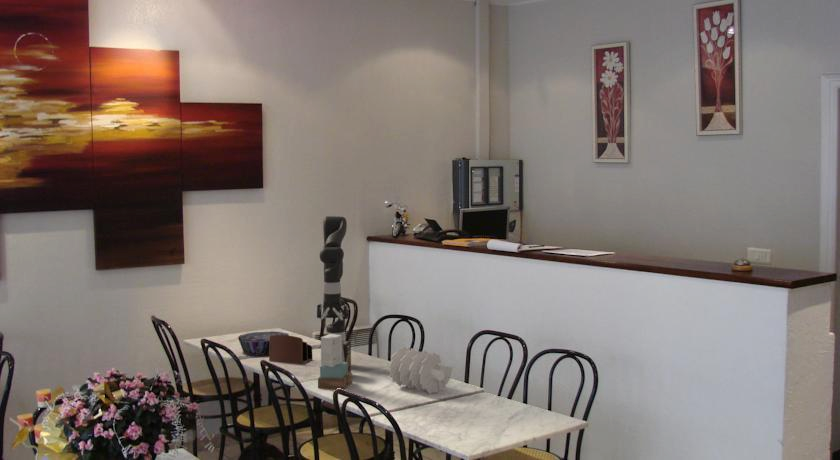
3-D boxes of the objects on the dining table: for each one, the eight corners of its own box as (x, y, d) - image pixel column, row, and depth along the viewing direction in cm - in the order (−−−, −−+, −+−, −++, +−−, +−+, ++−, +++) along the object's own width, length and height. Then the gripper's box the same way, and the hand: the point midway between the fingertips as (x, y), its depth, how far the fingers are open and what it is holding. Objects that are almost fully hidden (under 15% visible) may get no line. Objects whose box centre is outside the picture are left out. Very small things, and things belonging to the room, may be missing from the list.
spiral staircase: (433, 405, 365) (391, 392, 382) (458, 380, 376) (415, 368, 393) (422, 371, 358) (379, 359, 374) (447, 347, 369) (405, 336, 385)
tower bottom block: (327, 382, 391) (326, 371, 391) (352, 383, 388) (351, 372, 388) (318, 389, 380) (317, 378, 379) (343, 390, 377) (343, 379, 376)
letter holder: (302, 364, 424) (301, 337, 423) (268, 361, 432) (268, 333, 431) (312, 360, 433) (312, 333, 432) (279, 357, 441) (279, 330, 440)
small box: (330, 361, 388) (330, 333, 387) (342, 363, 385) (342, 335, 384) (320, 365, 381) (320, 337, 380) (332, 367, 378) (332, 338, 377)
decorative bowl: (234, 351, 463) (232, 333, 462) (284, 343, 473) (282, 325, 472) (244, 361, 439) (242, 342, 438) (296, 352, 450) (294, 334, 449)
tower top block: (326, 372, 389) (326, 361, 389) (347, 373, 388) (347, 362, 387) (320, 377, 380) (320, 366, 379) (341, 378, 378) (341, 367, 377)
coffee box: (346, 379, 395) (345, 344, 393) (333, 378, 396) (332, 344, 395) (351, 374, 404) (351, 340, 402) (338, 373, 405) (338, 340, 404)
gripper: (350, 291, 381) (350, 326, 383) (320, 290, 385) (321, 325, 386) (344, 293, 374) (345, 330, 375) (314, 292, 378) (314, 328, 379)
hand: (332, 327), depth 381 cm, fingers open, 8 cm apart
